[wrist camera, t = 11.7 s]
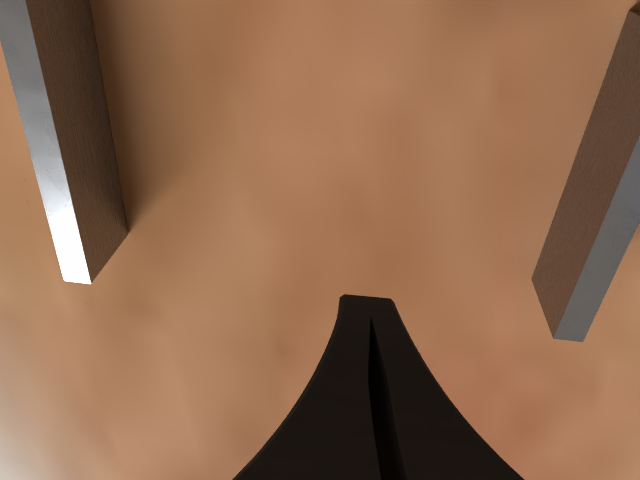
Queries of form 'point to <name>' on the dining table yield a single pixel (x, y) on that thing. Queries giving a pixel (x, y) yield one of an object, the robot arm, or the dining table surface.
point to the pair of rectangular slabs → (105, 193)
